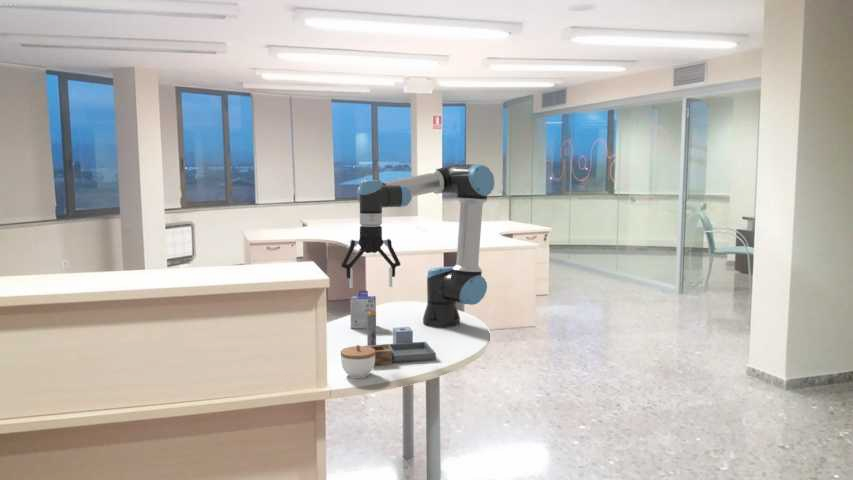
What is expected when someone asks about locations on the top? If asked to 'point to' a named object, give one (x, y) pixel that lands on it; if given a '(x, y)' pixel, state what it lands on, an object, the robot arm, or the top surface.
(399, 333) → the block
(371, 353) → the lidded jar
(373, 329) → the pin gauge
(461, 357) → the top surface
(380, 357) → the go block
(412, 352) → the tray
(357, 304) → the ink cartridge box
